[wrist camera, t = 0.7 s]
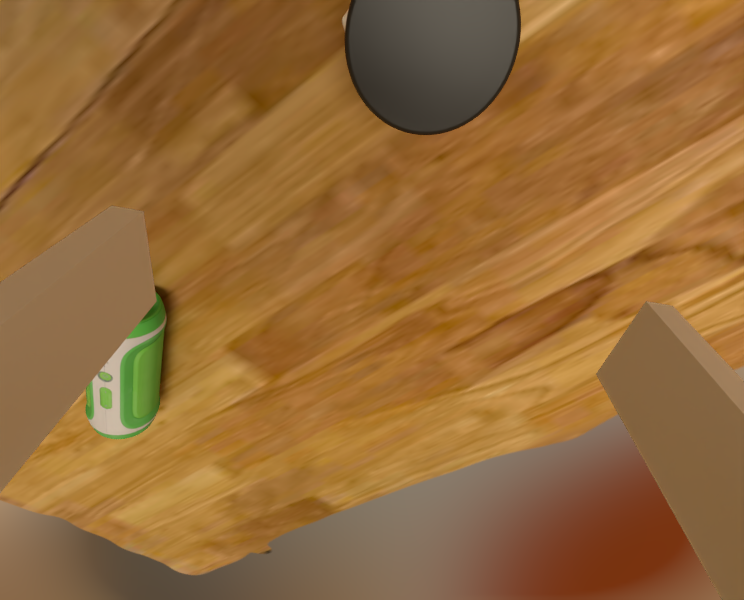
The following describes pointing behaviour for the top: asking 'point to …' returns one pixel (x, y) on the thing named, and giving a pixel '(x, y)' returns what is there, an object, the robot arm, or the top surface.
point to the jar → (430, 58)
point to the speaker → (130, 381)
